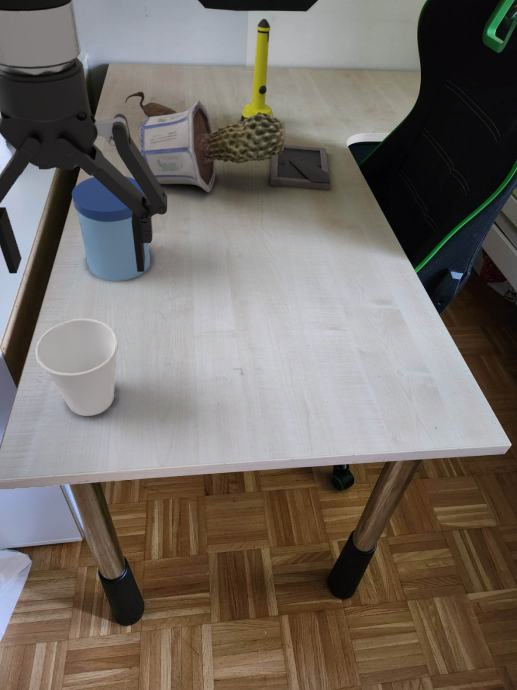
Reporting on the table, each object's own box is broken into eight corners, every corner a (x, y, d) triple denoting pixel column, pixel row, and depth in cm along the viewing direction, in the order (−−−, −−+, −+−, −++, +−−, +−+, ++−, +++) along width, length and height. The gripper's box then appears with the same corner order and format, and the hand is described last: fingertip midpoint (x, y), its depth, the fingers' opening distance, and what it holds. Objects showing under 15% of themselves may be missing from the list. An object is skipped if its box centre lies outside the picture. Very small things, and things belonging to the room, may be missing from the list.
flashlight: (238, 14, 122) (256, 25, 117) (271, 12, 125) (290, 23, 120) (234, 120, 140) (249, 134, 135) (263, 116, 143) (279, 129, 138)
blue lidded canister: (87, 285, 89) (72, 214, 79) (85, 246, 96) (71, 176, 86) (155, 278, 91) (149, 208, 81) (148, 241, 99) (141, 172, 89)
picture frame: (328, 190, 117) (324, 154, 130) (330, 182, 116) (326, 146, 128) (270, 185, 117) (272, 149, 130) (271, 177, 116) (272, 141, 128)
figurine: (127, 130, 131) (123, 94, 125) (128, 122, 134) (124, 87, 128) (182, 132, 133) (181, 97, 127) (182, 124, 136) (181, 90, 130)
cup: (94, 441, 67) (79, 388, 59) (38, 408, 70) (16, 353, 62) (142, 391, 74) (134, 337, 66) (89, 363, 77) (75, 307, 69)
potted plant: (122, 130, 99) (277, 106, 94) (144, 99, 112) (281, 76, 107) (150, 212, 110) (290, 194, 105) (167, 176, 123) (291, 158, 119)
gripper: (185, 50, 47) (190, 244, 62) (-112, 37, 44) (-30, 246, 59) (187, 80, 42) (192, 284, 57) (-150, 68, 38) (-50, 288, 54)
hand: (79, 265), depth 58 cm, fingers open, 13 cm apart
